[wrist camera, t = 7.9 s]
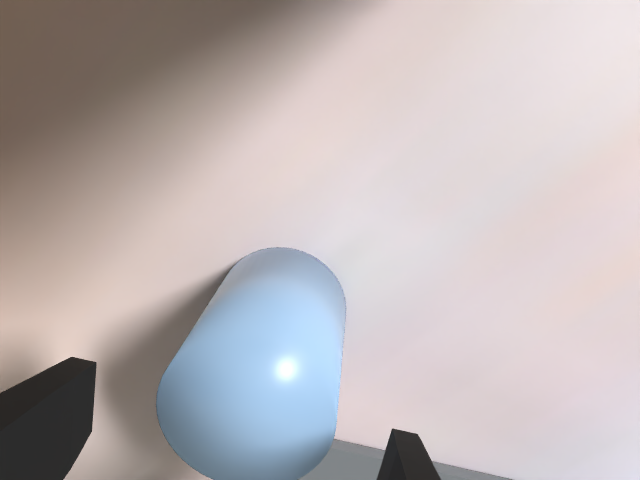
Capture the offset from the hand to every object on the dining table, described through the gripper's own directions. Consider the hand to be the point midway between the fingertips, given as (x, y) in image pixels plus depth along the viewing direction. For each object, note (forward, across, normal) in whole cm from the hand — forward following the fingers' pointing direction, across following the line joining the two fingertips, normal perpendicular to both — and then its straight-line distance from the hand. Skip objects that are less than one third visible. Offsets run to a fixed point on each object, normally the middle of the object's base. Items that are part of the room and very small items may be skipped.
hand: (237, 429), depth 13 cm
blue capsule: (+6, 0, 0) cm, 7 cm away
